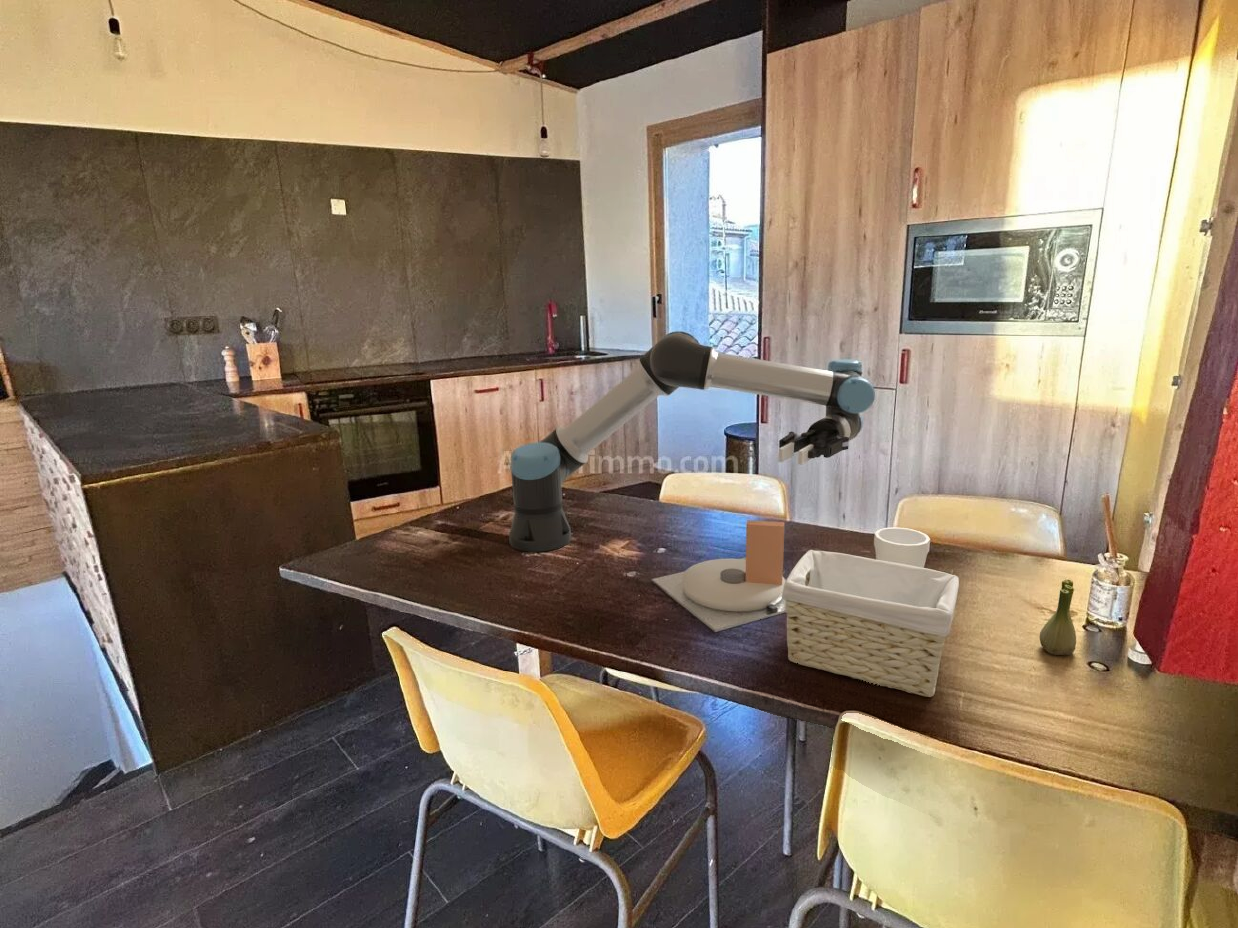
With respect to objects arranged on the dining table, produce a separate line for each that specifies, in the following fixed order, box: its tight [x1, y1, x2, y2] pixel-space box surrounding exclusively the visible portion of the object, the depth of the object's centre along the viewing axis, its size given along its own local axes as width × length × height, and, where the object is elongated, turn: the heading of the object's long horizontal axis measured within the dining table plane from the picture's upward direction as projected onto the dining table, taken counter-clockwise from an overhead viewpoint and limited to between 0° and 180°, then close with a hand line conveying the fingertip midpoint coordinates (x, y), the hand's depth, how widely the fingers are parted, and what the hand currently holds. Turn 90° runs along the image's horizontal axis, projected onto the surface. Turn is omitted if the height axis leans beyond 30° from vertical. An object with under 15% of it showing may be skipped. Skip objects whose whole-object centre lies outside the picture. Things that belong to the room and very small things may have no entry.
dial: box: [683, 519, 786, 611], centre depth 129 cm, size 20×20×14 cm
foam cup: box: [873, 526, 931, 568], centre depth 123 cm, size 10×9×13 cm
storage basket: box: [783, 549, 960, 698], centre depth 103 cm, size 24×16×15 cm
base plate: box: [651, 556, 787, 633], centre depth 131 cm, size 24×24×1 cm
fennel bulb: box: [1039, 578, 1077, 656], centre depth 105 cm, size 6×5×12 cm
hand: (790, 456), depth 129 cm, fingers open, 3 cm apart
